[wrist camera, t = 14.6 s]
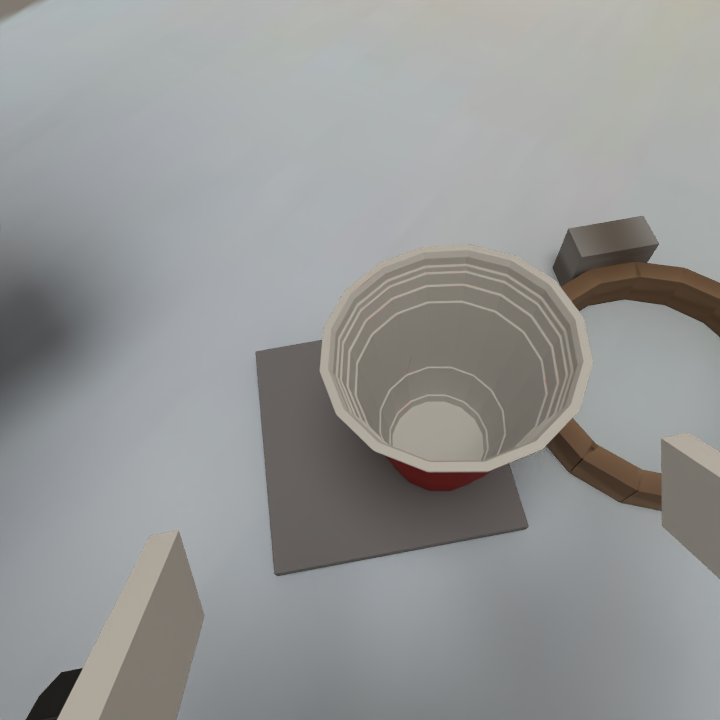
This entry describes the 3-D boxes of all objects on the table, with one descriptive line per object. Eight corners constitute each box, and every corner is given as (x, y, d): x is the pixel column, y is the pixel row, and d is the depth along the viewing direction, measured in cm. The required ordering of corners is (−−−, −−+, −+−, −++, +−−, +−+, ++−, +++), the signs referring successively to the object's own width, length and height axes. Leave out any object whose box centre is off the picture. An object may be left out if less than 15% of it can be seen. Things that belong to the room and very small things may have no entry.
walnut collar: (570, 534, 30) (593, 518, 26) (481, 279, 38) (490, 242, 35) (837, 483, 30) (895, 461, 27) (691, 243, 39) (720, 202, 35)
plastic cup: (408, 333, 36) (412, 199, 25) (560, 419, 32) (639, 306, 22) (306, 464, 32) (260, 372, 21) (466, 578, 28) (507, 535, 18)
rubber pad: (277, 576, 30) (274, 574, 29) (258, 357, 36) (255, 351, 36) (525, 529, 30) (528, 526, 29) (461, 321, 37) (462, 315, 36)
